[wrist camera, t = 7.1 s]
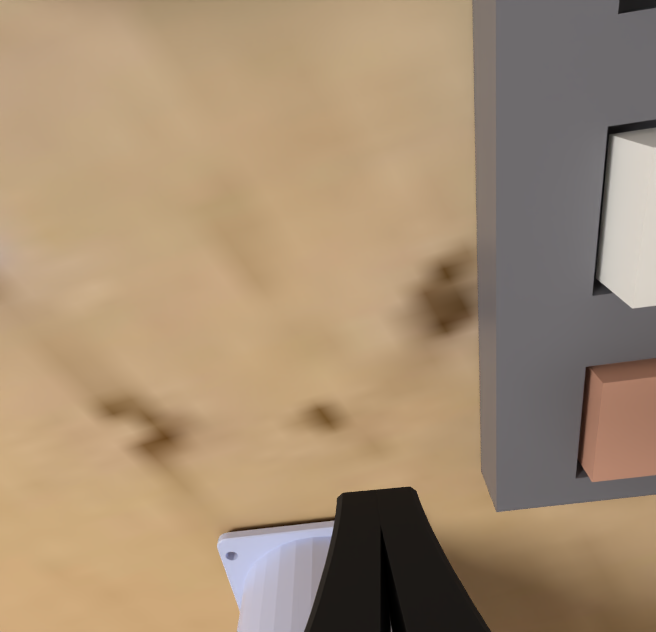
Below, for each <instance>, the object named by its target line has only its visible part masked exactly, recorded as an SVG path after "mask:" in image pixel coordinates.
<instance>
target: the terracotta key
mask: <svg viewBox="0 0 656 632" xmlns="http://www.w3.org/2000/svg"><path fill="white" fill-rule="evenodd" d="M577 459H578V460H579V462H580V464H581V465H582V467H583V468H584V470H585V472H586V473H587V475H588V477H589V478H590V480H591V481H592V482H599V481H607V480H616V479H625V478H634V477H643V476H652V475H656V358H652V359H644V360H636V361H628V362H620V363H612V364H604V365H596V366H588V367H586V370H585V381H584V392H583V403H582V413H581V424H580V435H579V446H578V457H577Z"/></svg>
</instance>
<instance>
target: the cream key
mask: <svg viewBox="0 0 656 632" xmlns="http://www.w3.org/2000/svg"><path fill="white" fill-rule="evenodd" d="M596 279H597V280H599V281H600V282H601V283H602V284H603V285H605V286H606V287H607V288H608V289H609V290H611V291H612V292H613V293H614V294H615V295H617V296H618V297H619V298H620V299H621V300H623V301H624V302H625V303H626V304H627V305H629V306H630V307H631V308H632V309H633V308H641V307H648V306H656V127H655V128H649V129H642V130H635V131H629V132H622V133H616V134H609V141H608V152H607V163H606V174H605V184H604V195H603V206H602V216H601V227H600V238H599V249H598V259H597V270H596Z"/></svg>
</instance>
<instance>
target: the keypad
mask: <svg viewBox="0 0 656 632" xmlns="http://www.w3.org/2000/svg"><path fill="white" fill-rule="evenodd" d="M473 50H474V103H475V157H476V210H477V263H478V317H479V370H480V424H481V472H482V475H483V477H484V480H485V483H486V485H487V488H488V491H489V493H490V496H491V499H492V501H493V504H494V507H495V509H496V512H501V511H510V510H519V509H528V508H537V507H546V506H555V505H564V504H573V503H583V502H592V501H601V500H610V499H619V498H628V497H637V496H646V495H655V494H656V475H652V476H643V477H634V478H625V479H616V480H607V481H599V482H592V481H591V480H590V478H589V477H588V475H587V473H586V472H585V470H584V468H583V467H582V465H581V464H580V462H579V460H578V459H577V457H578V446H579V435H580V424H581V413H582V403H583V392H584V381H585V370H586V367H588V366H596V365H604V364H612V363H620V362H628V361H636V360H644V359H652V358H656V306H648V307H641V308H633V309H632V308H631V307H630V306H629V305H627V304H626V303H625V302H624V301H623V300H621V299H620V298H619V297H618V296H617V295H615V294H614V293H613V292H612V291H611V290H609V289H608V288H607V287H606V286H605V285H603V284H602V283H601V282H600V281H599V280H597V279H596V270H597V259H598V249H599V238H600V227H601V216H602V206H603V195H604V184H605V174H606V163H607V152H608V141H609V134H616V133H622V132H629V131H635V130H642V129H649V128H655V127H656V0H473Z"/></svg>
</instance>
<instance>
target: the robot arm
mask: <svg viewBox="0 0 656 632" xmlns="http://www.w3.org/2000/svg"><path fill="white" fill-rule="evenodd" d="M217 548H218V551H219V554H220V557H221V560H222V562H223V565H224V568H225V571H226V574H227V576H228V579H229V582H230V585H231V587H232V590H233V593H234V596H235V599H236V601H237V604H238V607H239V610H240V616H239V622H238V629H237V632H491V631H490V629H489V628H488V626H487V624H486V623H485V621H484V620H483V618H482V616H481V615H480V613H479V612H478V610H477V609H476V607H475V605H474V604H473V602H472V600H471V599H470V597H469V595H468V594H467V592H466V590H465V588H464V587H463V585H462V583H461V582H460V580H459V578H458V577H457V575H456V573H455V572H454V570H453V568H452V566H451V564H450V563H449V561H448V559H447V557H446V555H445V554H444V552H443V550H442V548H441V546H440V544H439V542H438V540H437V538H436V536H435V534H434V532H433V530H432V528H431V526H430V524H429V522H428V519H427V517H426V515H425V513H424V510H423V508H422V505H421V503H420V500H419V497H418V494H417V491H416V490H414V489H413V488H411V487H401V488H390V489H379V490H368V491H358V492H347V493H342V494H341V495H340V496H339V497H338V498H337V506H336V515H335V521H326V522H317V523H308V524H299V525H290V526H281V527H272V528H263V529H254V530H245V531H236V532H227V533H224V534H222V535H221V536H220V537H219V539H218V544H217Z"/></svg>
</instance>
